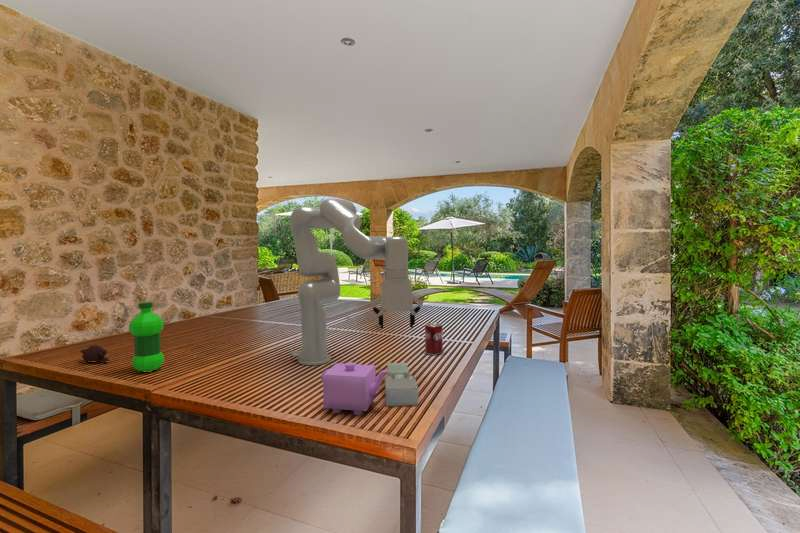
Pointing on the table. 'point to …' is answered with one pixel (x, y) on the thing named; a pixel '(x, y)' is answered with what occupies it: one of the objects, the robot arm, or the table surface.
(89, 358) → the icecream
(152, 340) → the plastic bottle
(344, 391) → the teapot
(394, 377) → the sage hinge leaf
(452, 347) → the table surface
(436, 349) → the soda can
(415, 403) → the steel hinge leaf
